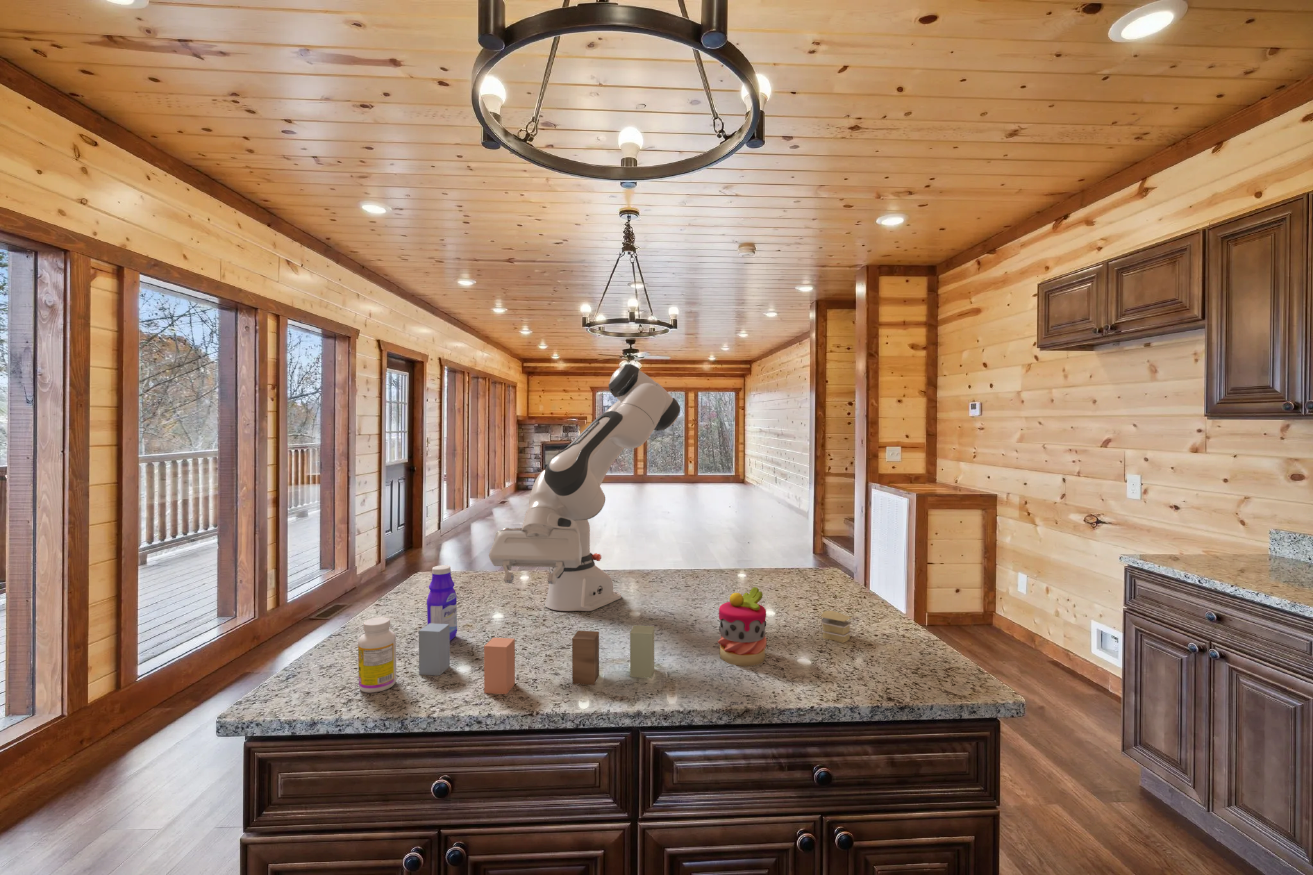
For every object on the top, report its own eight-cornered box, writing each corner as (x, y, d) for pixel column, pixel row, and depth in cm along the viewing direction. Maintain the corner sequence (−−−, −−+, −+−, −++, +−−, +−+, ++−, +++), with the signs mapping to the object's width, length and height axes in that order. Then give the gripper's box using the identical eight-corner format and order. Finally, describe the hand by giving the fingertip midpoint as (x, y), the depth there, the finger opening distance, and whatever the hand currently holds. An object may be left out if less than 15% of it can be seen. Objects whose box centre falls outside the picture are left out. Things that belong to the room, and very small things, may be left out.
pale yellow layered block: (863, 638, 139) (863, 616, 139) (845, 649, 132) (845, 625, 132) (824, 628, 146) (824, 607, 146) (806, 638, 139) (806, 615, 139)
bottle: (444, 646, 133) (444, 571, 132) (422, 644, 134) (421, 569, 134) (461, 635, 140) (460, 563, 140) (440, 633, 141) (439, 562, 141)
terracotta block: (493, 682, 114) (493, 637, 114) (514, 683, 114) (514, 638, 114) (484, 692, 110) (484, 646, 110) (506, 694, 110) (506, 647, 109)
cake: (736, 670, 120) (736, 598, 120) (709, 652, 130) (709, 586, 129) (776, 661, 125) (776, 592, 125) (747, 644, 134) (747, 580, 134)
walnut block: (578, 674, 118) (577, 630, 118) (599, 675, 118) (599, 631, 118) (572, 683, 114) (572, 638, 114) (594, 685, 113) (594, 639, 113)
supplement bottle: (367, 679, 116) (366, 615, 116) (401, 677, 116) (400, 614, 116) (352, 694, 109) (351, 627, 109) (388, 693, 110) (388, 626, 110)
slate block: (429, 665, 123) (429, 623, 122) (449, 666, 122) (449, 624, 122) (419, 674, 118) (418, 630, 118) (439, 675, 118) (439, 631, 118)
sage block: (633, 667, 121) (633, 625, 121) (654, 668, 121) (654, 626, 121) (630, 677, 117) (630, 632, 117) (651, 678, 117) (651, 633, 116)
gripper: (494, 520, 132) (478, 573, 122) (583, 521, 131) (573, 575, 121) (500, 535, 136) (485, 588, 127) (586, 537, 135) (578, 590, 125)
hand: (529, 582), depth 124 cm, fingers open, 8 cm apart
